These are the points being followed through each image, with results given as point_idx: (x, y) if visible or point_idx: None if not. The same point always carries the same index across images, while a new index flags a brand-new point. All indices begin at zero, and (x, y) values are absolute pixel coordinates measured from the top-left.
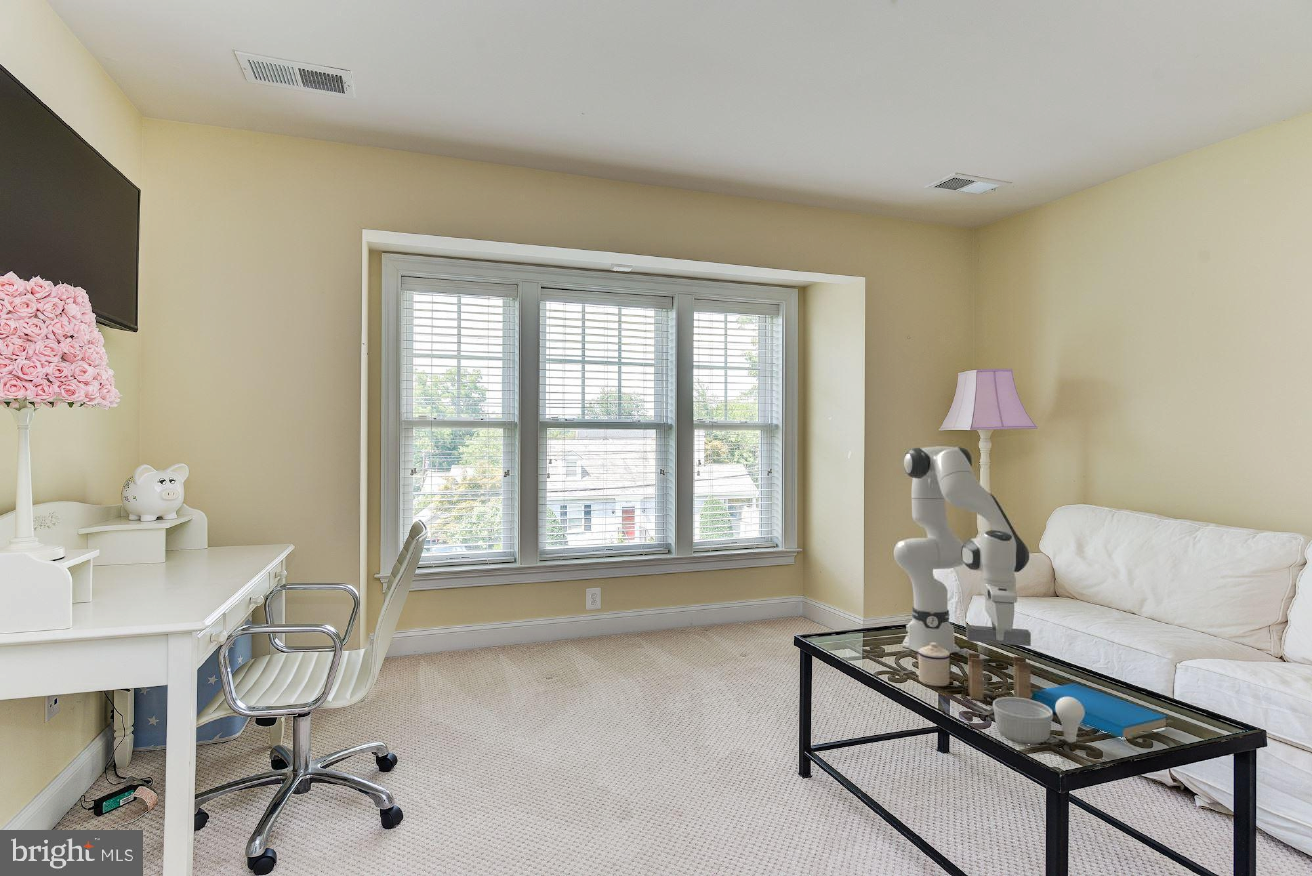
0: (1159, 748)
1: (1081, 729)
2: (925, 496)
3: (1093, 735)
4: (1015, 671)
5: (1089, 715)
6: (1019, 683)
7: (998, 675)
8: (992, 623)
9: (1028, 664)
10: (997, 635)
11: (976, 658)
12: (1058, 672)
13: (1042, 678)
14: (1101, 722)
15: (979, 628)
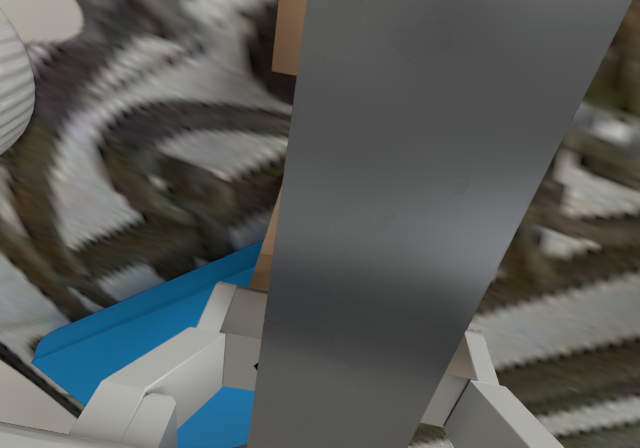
0: (43, 375)
1: (95, 271)
2: None
3: (60, 281)
4: None
5: (108, 325)
6: (272, 220)
7: (634, 222)
8: (511, 434)
9: None
10: (202, 319)
11: (302, 21)
12: (606, 412)
13: (559, 352)
14: (80, 331)
15: (345, 192)
